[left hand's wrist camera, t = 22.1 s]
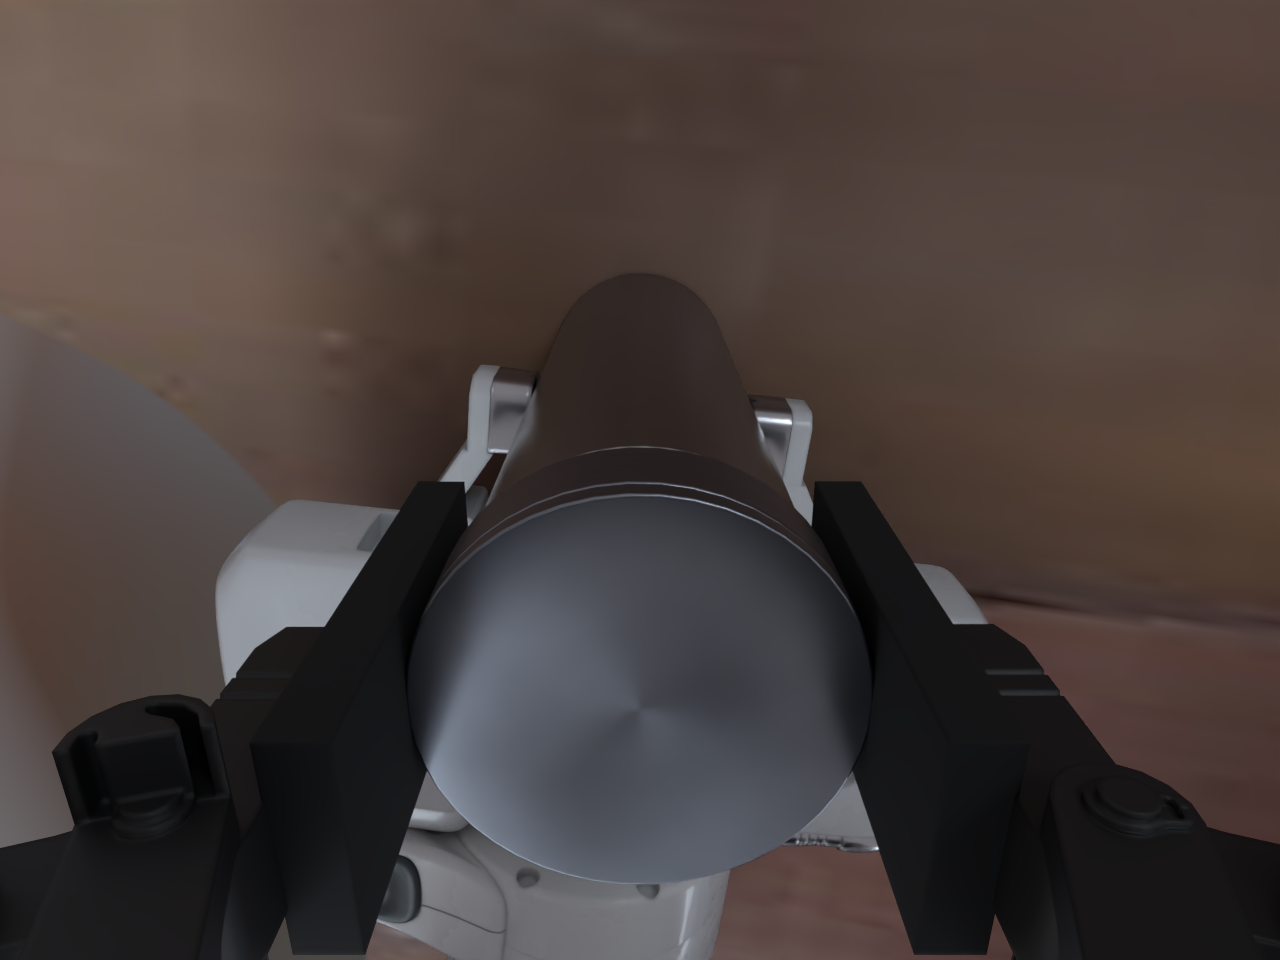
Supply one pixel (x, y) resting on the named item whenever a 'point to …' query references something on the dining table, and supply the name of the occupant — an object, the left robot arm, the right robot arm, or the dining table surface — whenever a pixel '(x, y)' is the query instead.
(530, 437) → the jar
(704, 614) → the lid
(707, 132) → the dining table surface
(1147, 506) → the dining table surface
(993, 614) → the dining table surface
